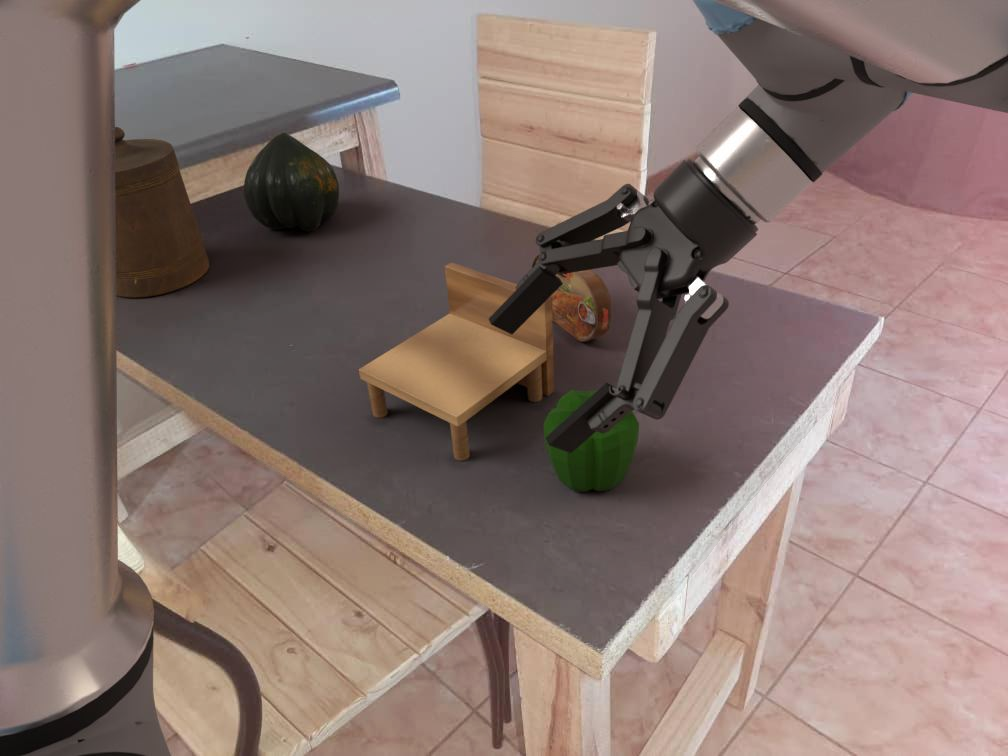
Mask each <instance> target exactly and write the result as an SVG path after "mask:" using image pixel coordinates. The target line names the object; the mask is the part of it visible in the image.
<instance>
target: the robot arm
mask: <svg viewBox="0 0 1008 756" xmlns="http://www.w3.org/2000/svg"><path fill="white" fill-rule="evenodd" d="M140 2H141V0H0V756H172V755H171V751H170V749H169V746H168V744H167V741H166V738H165V736H164V733H163V731H162V727H161V724H160V720H159V718H158V713H157V708H156V703H155V695H154V637H155V636H154V624H155V623H154V622H155V621H154V619H155V617H154V615H155V612H154V611H155V610H154V607H155V606H154V601H153V597H152V593H151V591H150V590H149V588H148V586H147V584H146V583H145V581H144V580H143V579H142V577H141V575H139V574H138V573H137V571H135V570H134V569H133V568H132V567H131V566H130V565H128V564H126V563H125V562H123V561H122V560H120V559H119V533H118V532H119V528H118V527H119V524H118V521H119V516H118V511H119V509H118V507H119V506H118V504H119V503H118V502H119V501H118V381H117V380H118V377H117V375H118V372H117V371H118V370H117V363H118V361H117V360H118V359H117V358H118V357H117V356H118V355H117V295H116V209H115V127H116V93H115V91H116V90H115V89H116V86H115V85H116V84H115V81H116V79H115V77H116V76H115V75H116V74H115V73H116V72H115V70H116V69H115V64H116V63H115V61H116V60H115V29H116V28H117V26H118V24H119V23H120V21H121V20H122V18H123V17H124V16H125V14H126V13H127V12H129V11H130V10H131V9H132V8H134V7H135V6H136V5H137V4H138V3H140ZM692 2H693V3H694V4H695V6H696V8H697V9H698V11H699V12H700V13H701V15H702V16H703V19H704V20H705V25H706V26H707V28H708V30H709V31H711V32H713V33H714V35H716V36H717V37H718V38H719V39H720V40H721V41H722V43H723V44H724V45H725V46H726V47H727V48H728V49H729V50H730V52H731V53H732V54H733V55H734V57H735V58H736V59H737V60H738V61H739V62H740V63H741V64H742V65H743V67H744V68H745V69H746V70H747V71H748V72H749V74H751V75H752V77H753V78H754V79H755V81H756V83H757V84H758V85H756V86H755V87H754V88H753V90H752V91H750V93H749V94H748V95H747V96H746V97H745V98H743V100H742V101H741V102H740V103H739V104H738V105H737V106H736V108H735V109H734V110H733V111H732V112H730V113H729V114H728V115H727V116H726V118H724V119H723V121H721V122H720V123H719V124H718V125H717V126H716V127H715V128H714V129H713V130H712V131H711V132H710V133H709V134H708V135H707V136H706V137H705V138H704V139H703V140H702V141H700V142H699V144H698V145H697V146H696V147H695V148H696V150H695V151H696V154H697V158H695V160H692V159H691V158H688V159H687V160H685V159H684V160H682V161H681V162H680V163H679V164H678V165H677V166H676V167H675V168H674V169H673V170H672V171H671V172H670V174H668V175H667V176H666V178H665V179H663V180H662V181H661V183H659V184H658V185H657V186H656V188H655V189H654V191H653V199H654V200H653V201H652V202H650V199H649V198H648V197H647V196H646V195H644V194H643V193H642V192H641V191H640V190H638V189H637V188H636V187H634V185H632V184H630V183H625V184H624V185H622V186H621V187H620V188H619V189H618V190H616V191H615V192H614V193H613V194H612V195H611V196H609V198H607V199H606V200H604V201H602V202H600V203H598V204H596V205H594V206H592V207H590V208H588V209H585V210H583V211H582V212H580V213H578V214H576V215H573V216H572V217H569V218H567V219H566V220H563V221H561V222H560V223H557V224H556V225H553V226H551V227H549V228H547V229H546V230H543V231H541V232H540V233H538V235H537V236H536V237H535V244H536V245H537V246H538V247H539V252H540V253H539V254H540V255H539V257H538V262H537V263H536V264H535V265H534V267H533V268H532V267H531V268H530V269H529V271H527V273H526V274H525V275H523V277H522V278H520V280H519V281H518V282H517V283H516V284H517V286H516V287H515V288H516V291H515V292H514V293H513V294H512V295H511V296H510V297H509V298H508V299H507V300H506V301H505V302H504V303H503V304H502V305H501V306H500V307H499V308H498V309H497V310H496V312H495V313H494V314H493V315H492V316H491V317H490V318H489V321H490V323H491V325H493V326H495V327H497V328H499V329H501V330H503V331H505V332H508V333H510V334H513V333H514V332H515V331H516V330H517V329H518V328H519V327H520V326H521V325H522V324H523V323H524V322H525V321H526V320H527V319H528V318H529V317H530V316H531V315H532V314H533V313H534V312H535V311H536V310H537V309H538V308H539V307H540V306H541V305H542V304H543V303H544V302H545V301H546V300H547V299H548V298H549V297H550V296H551V295H552V294H553V293H554V292H555V291H556V290H557V289H558V288H559V287H560V286H561V285H562V284H563V283H562V281H561V280H560V278H558V277H557V276H555V275H556V274H559V275H560V276H562V277H564V278H566V276H564V275H563V274H565V275H566V274H567V273H573V272H579V271H585V270H591V271H592V270H597V269H603V268H609V267H615V266H618V268H619V269H620V271H622V272H623V273H625V274H626V275H627V278H628V280H629V284H630V285H631V287H632V288H633V290H634V291H636V292H637V293H638V294H637V297H636V305H637V313H636V316H635V320H634V324H633V326H632V330H631V333H630V337H629V340H628V343H627V347H626V350H625V355H624V358H623V361H622V365H621V369H620V372H619V376H618V378H617V382H616V386H615V385H612V384H611V383H608V382H605V383H604V384H603V385H602V386H601V387H600V388H599V389H598V390H596V391H597V392H595V393H594V394H593V395H592V396H591V397H590V398H589V399H588V400H587V401H586V402H584V403H583V404H582V405H581V406H580V407H579V408H578V409H577V410H576V411H574V412H573V413H572V414H571V415H570V416H569V417H568V418H567V419H566V420H565V421H563V422H562V423H561V424H560V425H559V426H558V427H557V428H556V429H555V430H553V431H552V432H551V433H550V434H549V435H548V436H547V437H546V440H547V442H548V444H549V446H552V447H555V448H558V449H560V450H563V451H566V452H569V453H572V452H573V451H574V450H576V449H577V448H578V447H579V446H580V445H581V444H582V443H583V442H585V441H586V440H587V439H588V438H589V437H590V436H591V435H593V434H594V433H595V432H596V431H597V432H599V433H602V434H603V433H606V432H608V431H610V430H611V429H612V428H613V427H614V426H615V425H616V424H617V423H619V422H620V421H621V420H622V419H623V418H624V417H626V416H627V415H628V414H629V413H630V412H631V411H632V412H633V411H636V412H639V413H640V414H643V415H644V416H646V417H649V418H652V419H654V420H656V421H659V420H661V419H663V418H664V417H665V415H666V413H667V411H668V409H669V407H670V406H671V403H672V401H673V400H674V397H675V396H676V394H677V392H678V390H679V389H680V386H681V384H682V382H683V380H684V378H685V376H686V375H687V372H688V370H689V368H690V367H691V364H692V362H693V360H694V359H695V357H696V355H697V353H698V351H699V349H700V347H701V345H702V343H703V341H704V339H705V337H706V335H707V333H708V331H709V329H710V328H711V327H712V326H713V325H714V324H715V323H716V322H717V320H718V319H719V318H720V317H722V315H723V314H724V313H725V312H726V311H727V309H728V308H729V305H730V303H729V299H728V298H727V297H726V296H724V295H723V294H721V293H720V292H718V291H717V290H716V289H714V288H713V286H711V285H709V284H708V283H707V282H705V281H706V280H707V277H708V275H709V274H710V272H711V271H712V270H713V269H715V268H716V267H718V266H721V265H724V264H726V263H728V262H729V261H731V260H732V259H733V258H734V257H736V255H737V254H738V253H739V252H741V251H742V250H743V249H744V248H745V247H746V246H747V245H748V244H749V243H750V242H751V241H753V240H754V238H756V237H757V236H758V233H757V232H758V231H759V228H758V226H757V224H758V223H759V222H760V221H762V222H764V223H771V222H773V221H774V220H775V219H776V218H777V217H778V216H780V214H781V213H782V212H784V210H786V209H787V208H788V207H789V206H790V205H791V204H792V203H793V202H794V201H795V200H797V199H798V198H799V197H800V196H801V195H802V194H803V193H804V192H805V191H806V190H807V189H808V188H810V187H811V185H813V183H815V182H816V181H817V180H818V179H819V178H820V177H821V176H823V173H825V172H826V171H827V170H828V169H829V168H830V167H831V166H832V165H834V164H835V163H836V162H837V161H839V160H840V159H841V158H842V157H843V156H844V155H845V154H846V153H847V152H848V151H850V150H851V149H852V148H854V146H856V145H857V144H858V143H859V142H860V141H861V140H862V139H864V137H866V136H867V135H868V134H869V133H870V132H871V131H872V130H874V129H875V128H876V127H877V126H878V125H880V124H881V123H882V122H883V121H885V119H886V118H887V117H889V116H890V115H891V114H892V113H893V112H896V111H897V110H899V109H901V108H902V107H903V106H904V105H905V103H906V102H907V101H908V100H909V98H910V97H911V96H912V95H913V94H915V95H921V96H926V97H931V98H934V99H935V98H936V99H940V100H945V101H949V102H954V103H959V104H963V105H968V106H973V107H977V108H982V109H986V110H991V111H997V112H1001V113H1005V114H1008V0H692ZM628 224H629V225H628ZM626 225H628V228H627V230H624V231H619V232H614V231H616V230H618V229H621V228H622V227H624V226H626ZM612 232H614V233H612ZM601 237H603V238H601ZM599 238H600V239H599ZM682 295H684V296H683V301H684V304H683V305H682V306H681V307H680V309H679V306H680V302H681V299H682ZM678 309H679V311H678ZM671 321H673V322H672V324H671V326H670V322H671ZM669 326H670V328H669Z"/></svg>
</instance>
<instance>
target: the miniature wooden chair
mask: <svg viewBox="0 0 1008 756" xmlns="http://www.w3.org/2000/svg"><path fill="white" fill-rule="evenodd" d="M444 273H445V282H446V283H445V284H446V290H447V291H446V292H447V300H448V301H447V302H448V310H449V313H448V314H446V315H445V316H443V317H441V318H440V319H438V320H436V321H435V322H434V323H432V324H430V325H428V326H427V327H425V328H423V329H422V330H420V331H418V332H417V333H416V334H413V335H412V336H411V337H408V339H406V340H404V341H402V342H401V343H399V344H397V345H396V346H394V347H393V348H391V349H390V350H388V351H386V352H385V353H383V354H381V355H380V356H378V357H376V358H375V359H373V360H372V361H370V362H368V363H367V364H364V365H363V366H362V367H360V368H359V369H358V374H359V378H360V380H362V381H365V382H366V386H367V391H368V396H369V401H370V406H371V411H372V416H373V417H374V418H376V419H382V418H385V417H386V416H388V413H389V412H388V407H387V406H388V405H387V401H386V395H385V392H387V393H388V394H390V395H392V396H395V397H397V398H399V399H400V400H403V401H405V402H407V403H409V404H411V405H413V406H415V407H416V408H419V409H421V410H423V411H425V412H427V413H429V414H431V415H433V416H435V417H437V418H439V419H440V420H443V421H445V422H447V423H449V427H450V428H449V429H450V436H451V443H452V444H451V445H452V453H453V458H454V459H455V460H456V461H459V462H464V461H466V460H468V459H469V458H470V456H471V453H470V443H469V435H468V434H469V433H468V424H467V421H468V420H469V419H471V418H473V416H475V415H476V414H477V413H478V412H480V411H482V410H483V409H484V408H485V407H486V406H487V405H489V404H491V403H492V402H493V401H495V400H496V399H497V398H499V396H501V395H502V394H504V393H505V392H506V391H508V390H509V389H511V388H512V387H513V386H514V385H516V384H519V386H523V387H525V388H527V399H528V401H530V402H533V403H537V402H541V401H542V399H543V397H544V396H546V397H549V396H550V395H551V394H554V392H555V362H554V361H555V360H554V359H555V358H554V357H555V356H554V326H553V325H554V324H553V322H554V321H553V318H552V296H550V297H549V298H548V299H547V300H546V301H545V302H544V303H543V304H542V305H541V306H540V307H539V308H538V309H537V310H536V311H535V312H534V313H533V314H532V315H531V316H530V317H529V318H528V319H527V320H526V321H525V322H524V323H523V324H522V325H521V326H520V327H519V328H518V329H517V330H516V331H515V332H514V333H513V334H510V333H508V332H505V331H503V330H501V329H499V328H497V327H495V326H493V325H491V323H490V321H489V318H490V317H491V316H492V315H493V314H494V313H495V312H496V310H497V309H498V308H499V307H500V306H501V305H502V304H503V303H504V302H505V301H506V300H507V299H508V298H509V297H510V296H511V295H512V294H513V293H514V292H515V291H516V288H515V287H516V286H517V284H518V283H514V282H511V281H509V280H505V279H502V278H499V277H496V276H493V275H491V274H487V273H485V272H482V271H479V270H475V269H473V268H470V267H467V266H463V265H461V264H458V263H455V262H450V263H448V264H446V265H445V266H444Z"/></svg>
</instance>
